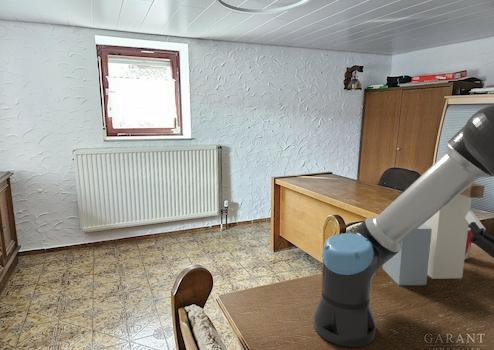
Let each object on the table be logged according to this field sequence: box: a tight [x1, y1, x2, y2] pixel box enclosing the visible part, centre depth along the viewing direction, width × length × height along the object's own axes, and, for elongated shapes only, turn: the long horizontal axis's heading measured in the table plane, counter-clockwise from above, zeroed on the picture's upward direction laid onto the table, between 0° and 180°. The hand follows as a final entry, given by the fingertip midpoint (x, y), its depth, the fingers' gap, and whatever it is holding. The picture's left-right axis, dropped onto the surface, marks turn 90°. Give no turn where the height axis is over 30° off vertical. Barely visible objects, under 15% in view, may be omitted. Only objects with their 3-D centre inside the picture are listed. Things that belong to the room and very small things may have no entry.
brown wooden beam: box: [460, 182, 485, 199], centre depth 103 cm, size 9×22×4 cm, turn 1°
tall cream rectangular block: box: [424, 194, 473, 280], centre depth 111 cm, size 10×15×30 cm, turn 1°
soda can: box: [464, 226, 473, 261], centre depth 121 cm, size 7×7×12 cm
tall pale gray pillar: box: [381, 224, 432, 286], centre depth 106 cm, size 9×12×19 cm
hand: (492, 214), depth 86 cm, fingers open, 13 cm apart
